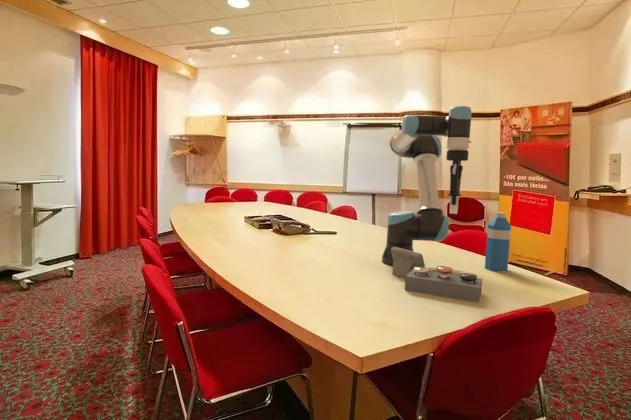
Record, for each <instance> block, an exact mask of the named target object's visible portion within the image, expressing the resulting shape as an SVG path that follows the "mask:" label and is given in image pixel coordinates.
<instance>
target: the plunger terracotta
mask: <svg viewBox="0 0 631 420" xmlns="http://www.w3.org/2000/svg"><path fill="white" fill-rule="evenodd" d="M435 270H436V271H435V272H439V278H441V279H448V280H449V274H452V273H453V268H452V267H451V266H446V265H438V266H436V269H435Z"/></svg>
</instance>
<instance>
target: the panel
mask: <svg viewBox="0 0 631 420" xmlns="http://www.w3.org/2000/svg"><path fill="white" fill-rule="evenodd" d="M413 270H414V269H413ZM413 270H412V271H410V272H409V273H408V274H407V275H406V276H405V278H404V280H405V281H404V290H405V291H408V292H409V291H410V292H416V293H421V294H425V295H426V294H427V295H433V296H438V297H444V298H449V299H455V300H462V301H466V302H467V301H468V302H472V303H479V301H480V298H481V294H482V286H483V278H482V277H481V278H479V277H477V280H476V281H473V283H468V282H463V279H461V278H460V275H459V274H452V273H449V280H448V279H441V278H439V272H438V271H433V270H429V271H428V273H426V274H425V276H422V275H416V272H414V271H413Z"/></svg>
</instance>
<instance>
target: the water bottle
mask: <svg viewBox="0 0 631 420" xmlns="http://www.w3.org/2000/svg"><path fill="white" fill-rule="evenodd" d="M506 214H507V213H506V212H501V211H496V212H495V214H494V215H495V217H494V218H492V220H491V221H489V223H488V225H487V235H486V245H485V246H486V247H485V248H486V249H485V258H484V259H485V260H484V261H485V262H484V269H485V268H486V270H487V271H491V272H492V271H493V272H497V271H498V273H502V271H506V272H507V271H508V270H509V269H508V268H509V257H510V256H509V255H510V246H511V245H510V244H511V243H510V242H511V233H512V225H511V224H510V222H509V220H508V219H507V217H506V216H507V215H506Z"/></svg>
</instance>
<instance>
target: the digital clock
mask: <svg viewBox="0 0 631 420" xmlns="http://www.w3.org/2000/svg"><path fill="white" fill-rule="evenodd" d="M391 253H392V258H393V262H394V263H393V265H392V272H391V273H392V275H394V276H397V277H399V278H403V279H405V276H406V275H407V274H408V273H409V272H410V271H412V270H413V269H414V267H426V266H425V265H426V264H425V260H424V256H423V254H422V253H420V252H417V251H414V252H413V251H409V250H405V249H401V248H397V247H392V248H391Z"/></svg>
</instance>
